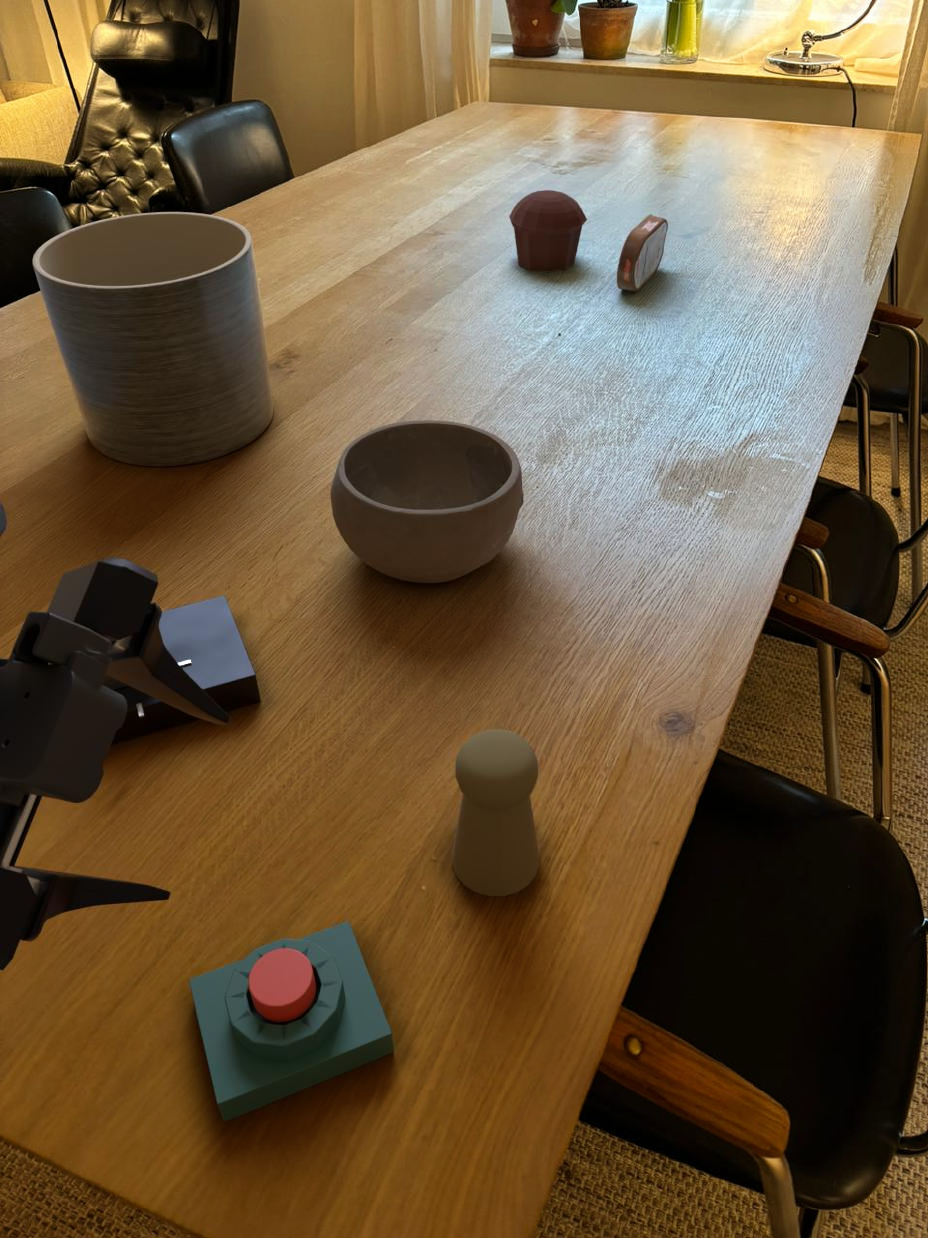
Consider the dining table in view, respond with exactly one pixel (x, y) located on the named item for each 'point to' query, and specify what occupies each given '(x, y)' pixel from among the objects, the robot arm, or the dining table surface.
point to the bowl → (427, 498)
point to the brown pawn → (496, 814)
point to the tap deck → (195, 667)
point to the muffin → (547, 230)
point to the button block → (289, 1025)
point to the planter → (160, 334)
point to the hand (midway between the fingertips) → (197, 805)
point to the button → (282, 985)
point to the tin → (641, 253)
